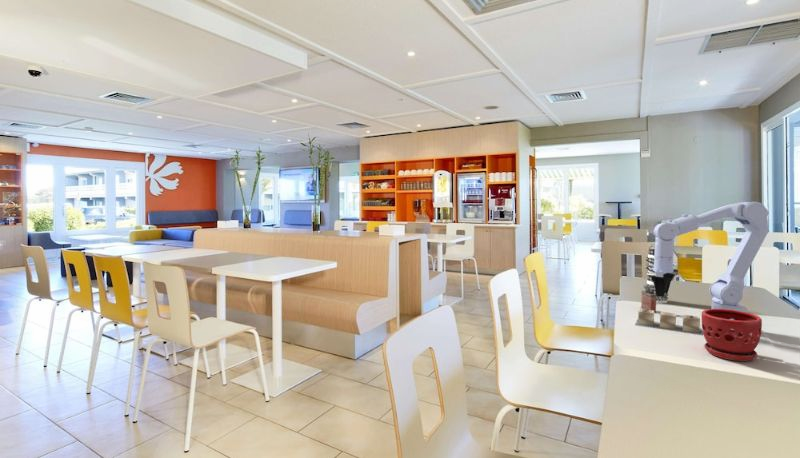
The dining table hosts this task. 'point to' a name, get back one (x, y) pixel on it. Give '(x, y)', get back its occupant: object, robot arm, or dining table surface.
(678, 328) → the felt strip
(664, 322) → the plain block
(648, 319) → the block seven
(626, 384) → the dining table surface
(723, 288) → the robot arm
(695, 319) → the block one
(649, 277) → the decorative candle
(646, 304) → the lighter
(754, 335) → the plant pot
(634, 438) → the dining table surface
